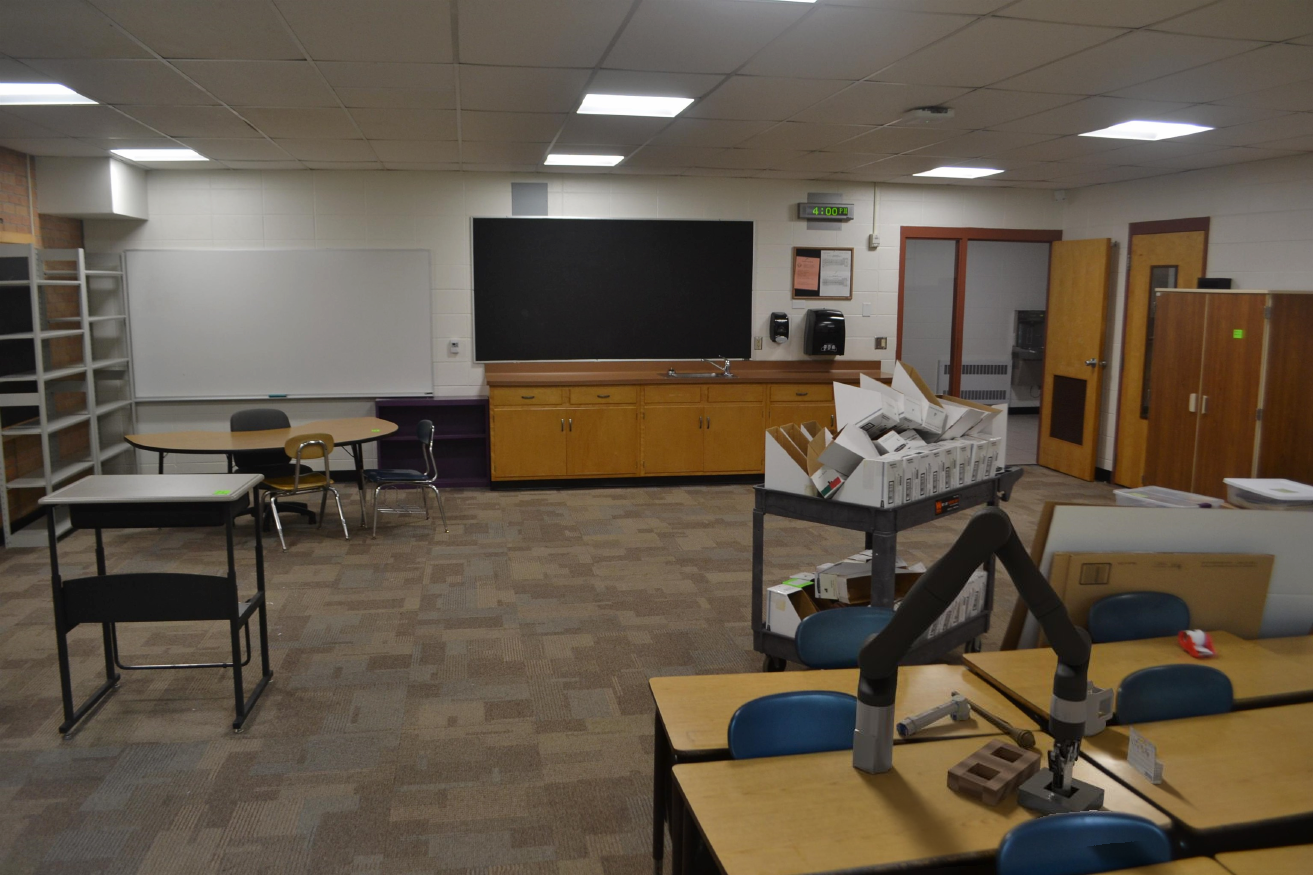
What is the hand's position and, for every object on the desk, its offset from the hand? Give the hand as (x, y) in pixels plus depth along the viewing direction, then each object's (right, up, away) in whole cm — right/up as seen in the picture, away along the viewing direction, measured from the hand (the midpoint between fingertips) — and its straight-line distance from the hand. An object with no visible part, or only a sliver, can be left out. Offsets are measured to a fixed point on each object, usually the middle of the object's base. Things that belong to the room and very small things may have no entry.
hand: (1061, 783), depth 212 cm
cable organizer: (+25, 0, +38) cm, 45 cm away
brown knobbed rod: (-1, +1, +42) cm, 42 cm away
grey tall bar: (0, -5, +1) cm, 5 cm away
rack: (-11, -3, +12) cm, 17 cm away
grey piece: (-17, +1, +40) cm, 43 cm away
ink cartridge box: (+27, -3, +16) cm, 32 cm away
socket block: (0, -5, +1) cm, 5 cm away
